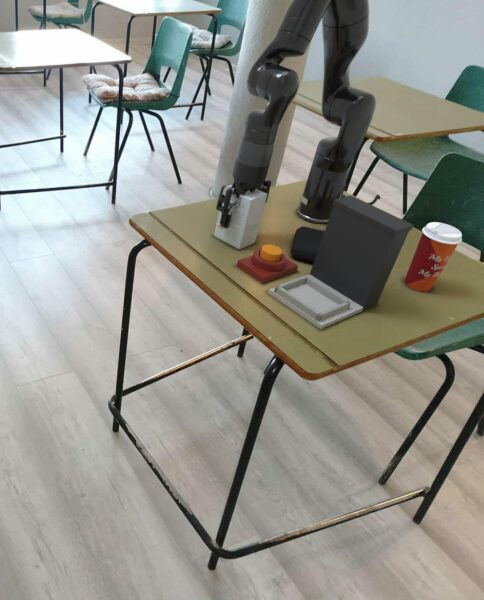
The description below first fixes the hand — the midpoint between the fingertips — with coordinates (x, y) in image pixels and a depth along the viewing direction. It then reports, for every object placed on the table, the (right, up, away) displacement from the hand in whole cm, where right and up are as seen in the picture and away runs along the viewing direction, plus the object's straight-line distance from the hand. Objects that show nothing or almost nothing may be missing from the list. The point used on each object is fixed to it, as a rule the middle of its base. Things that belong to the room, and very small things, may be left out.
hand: (237, 223), depth 136 cm
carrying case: (+19, -7, +1) cm, 20 cm away
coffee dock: (+14, -18, -16) cm, 28 cm away
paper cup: (+38, -15, -9) cm, 42 cm away
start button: (+5, -9, -10) cm, 14 cm away
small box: (0, -4, +3) cm, 5 cm away
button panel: (+5, -11, -8) cm, 15 cm away
